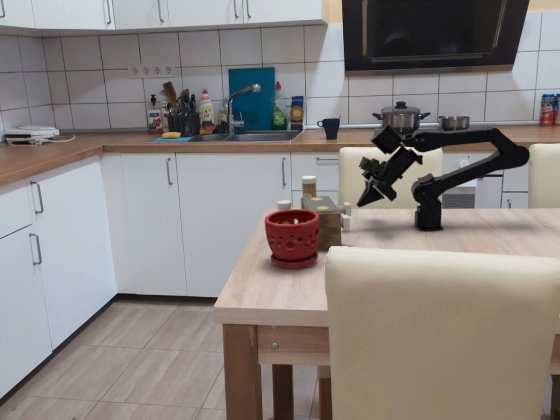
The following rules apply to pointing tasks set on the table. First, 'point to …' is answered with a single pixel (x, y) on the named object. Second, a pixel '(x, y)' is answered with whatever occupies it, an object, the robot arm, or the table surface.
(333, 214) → the button box
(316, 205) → the card
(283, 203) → the supplement bottle
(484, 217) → the table surface
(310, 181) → the sprinkles bottle
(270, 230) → the plant pot
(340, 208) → the button
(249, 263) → the table surface
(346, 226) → the button
